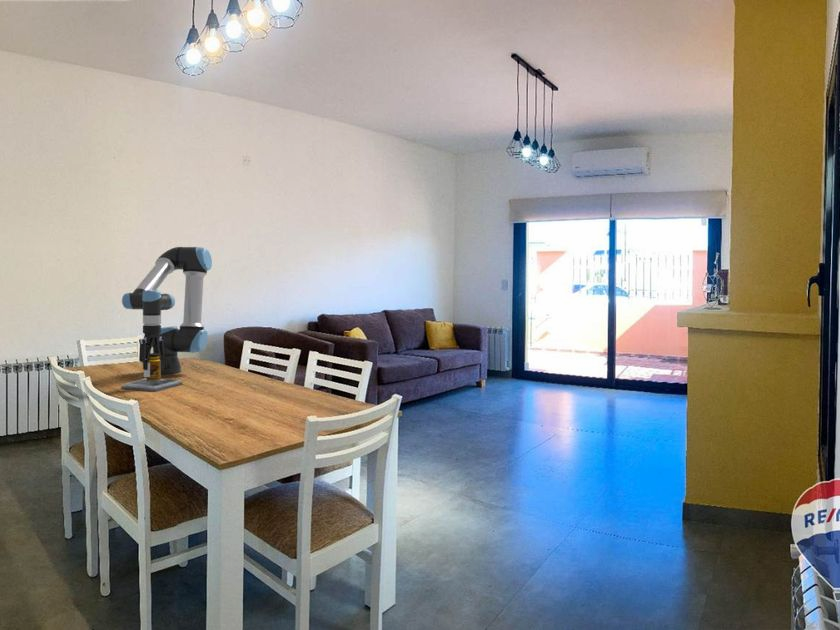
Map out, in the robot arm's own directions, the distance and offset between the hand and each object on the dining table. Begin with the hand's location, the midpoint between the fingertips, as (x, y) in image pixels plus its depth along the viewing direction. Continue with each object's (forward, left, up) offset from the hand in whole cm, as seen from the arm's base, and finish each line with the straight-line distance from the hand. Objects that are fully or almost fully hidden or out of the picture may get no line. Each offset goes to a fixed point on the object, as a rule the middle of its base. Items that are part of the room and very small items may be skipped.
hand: (152, 375), depth 275 cm
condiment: (-1, 0, -2) cm, 2 cm away
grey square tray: (0, 0, -5) cm, 5 cm away
